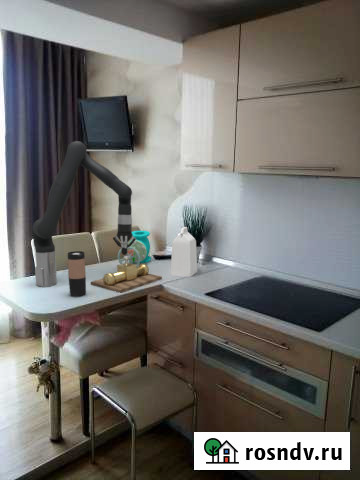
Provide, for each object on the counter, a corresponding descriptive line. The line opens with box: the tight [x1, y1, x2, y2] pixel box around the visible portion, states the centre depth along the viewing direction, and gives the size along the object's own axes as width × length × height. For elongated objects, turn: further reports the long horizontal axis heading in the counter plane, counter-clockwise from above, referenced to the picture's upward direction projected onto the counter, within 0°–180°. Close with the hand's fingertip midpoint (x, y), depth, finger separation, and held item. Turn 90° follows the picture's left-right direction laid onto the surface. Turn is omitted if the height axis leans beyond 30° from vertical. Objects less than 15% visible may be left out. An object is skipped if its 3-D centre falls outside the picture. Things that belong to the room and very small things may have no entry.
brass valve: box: [102, 259, 149, 286], centre depth 201 cm, size 28×7×11 cm, turn 142°
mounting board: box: [90, 273, 163, 294], centre depth 202 cm, size 30×22×2 cm
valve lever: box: [123, 249, 134, 260], centre depth 207 cm, size 3×16×3 cm, turn 177°
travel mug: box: [67, 250, 87, 298], centre depth 180 cm, size 8×8×20 cm
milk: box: [170, 226, 198, 278], centre depth 217 cm, size 12×12×26 cm
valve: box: [117, 230, 152, 267], centre depth 239 cm, size 14×18×30 cm
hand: (124, 254), depth 211 cm, fingers closed
